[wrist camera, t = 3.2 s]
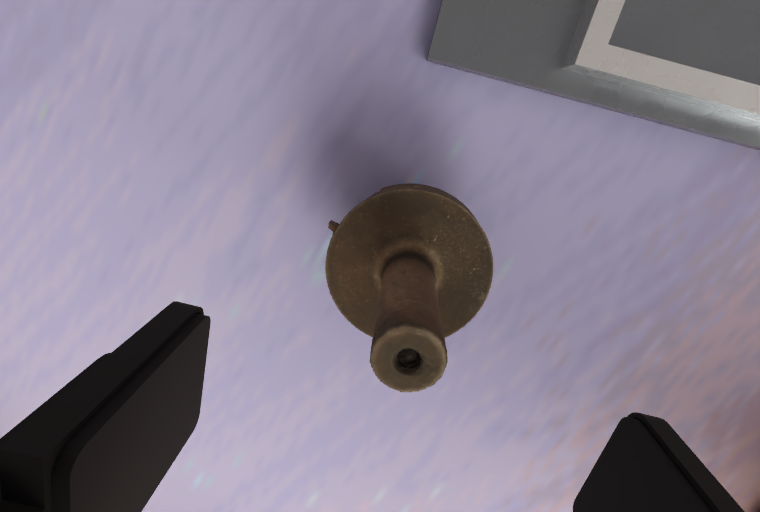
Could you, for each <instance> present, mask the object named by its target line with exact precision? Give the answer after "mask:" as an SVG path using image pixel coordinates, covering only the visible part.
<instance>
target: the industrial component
mask: <svg viewBox="0 0 760 512" xmlns="http://www.w3.org/2000/svg"><path fill="white" fill-rule="evenodd" d="M328 228H329V229H330V230H332V231H333V236H332V238H331V240H330V244H329V247H328V251H327V257H326V278H327V283H328V287H329V290H330V294H331V296H332V298H333V300H334V302H335V304H336V306H337V307H338V309H339V310H340V311H341V313H342V314H343V315H344V316H345V318H347V320H348V321H349V322H351V323H352V324H353V325H354V326H355V327H356V328H358V329H359V330H360V331H362V332H364V333H365V334H367V335H369V336H371V337H373V340H372V346H371V355H370V363H371V367H372V368H373V371H374V373H375V375H376V376H377V378H378V379H379V380H380V381H381V382H383V383H384V384H385V385H387V386H388V387H390V388H393V389H395V390H398V391H400V392H412V391H420V390H423V389H426V388H427V387H430V386H432V385H434V384H435V383H436V381H438V380H439V379H440V378H441V377H442V374H443V372H444V370H445V367H446V365H447V349H446V345H445V339H444V338H445V337H447V336H450V335H451V334H453V333H455V332H456V331H458V330H460V329H461V328H462V327H464V326H465V325H466V324H467V323H468V322H470V320H471V319H472V318H473V317H474V316H475V315H476V314H477V312H478V311H479V310H480V308H481V307H482V305H483V303H484V301H485V300H486V298H487V295H488V293H489V289H490V286H491V282H492V276H493V258H492V252H491V248H490V245H489V242H488V239H487V237H486V235H485V233H484V231H483V229H482V228H481V226H480V225H479V223H478V221H477V220H476V218H475V217H474V215H473V214H472V213H471V212H470V210H469V209H468V208H467V207H466V206H465V205H464V204H463V203H461V202H460V201H459V200H458V199H456V198H455V197H453V196H452V195H450V194H448V193H446V192H444V191H442V190H440V189H437V188H434V187H431V186H427V185H421V184H398V185H392V186H388V187H384V188H382V189H381V190H380V191H379V192H377V193H375V194H374V195H372V196H371V197H369V198H367V199H366V200H364V201H363V202H361V203H360V204H359V205H357V206H356V207H355V208H353V209H352V210H351V211H350V212H349V213H348V214H347V215H346V216H345V217H344V219H343V220H342V221H341V223H340V224H338V223H335V222H334V221H332V220H331V221H330V222H329V226H328Z"/></svg>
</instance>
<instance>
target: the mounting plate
mask: <svg viewBox="0 0 760 512" xmlns="http://www.w3.org/2000/svg"><path fill="white" fill-rule="evenodd" d="M427 61H430V62H433V63H437V64H441V65H445V66H448V67H452V68H456V69H460V70H463V71H467V72H471V73H474V74H478V75H482V76H486V77H489V78H493V79H497V80H500V81H504V82H508V83H512V84H515V85H519V86H523V87H526V88H530V89H534V90H538V91H541V92H545V93H549V94H553V95H556V96H560V97H564V98H567V99H571V100H575V101H579V102H582V103H586V104H590V105H593V106H597V107H601V108H605V109H608V110H612V111H616V112H620V113H623V114H627V115H631V116H634V117H638V118H642V119H646V120H649V121H653V122H657V123H660V124H664V125H668V126H672V127H675V128H679V129H683V130H686V131H690V132H694V133H698V134H701V135H705V136H709V137H713V138H716V139H720V140H724V141H727V142H731V143H735V144H739V145H742V146H746V147H750V148H753V149H757V150H760V0H442V4H441V8H440V12H439V16H438V19H437V23H436V27H435V31H434V35H433V38H432V42H431V46H430V50H429V54H428V58H427Z"/></svg>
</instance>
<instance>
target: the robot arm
mask: <svg viewBox="0 0 760 512" xmlns="http://www.w3.org/2000/svg"><path fill="white" fill-rule="evenodd" d="M209 330H210V317H209V316H205V315H204V312H203V309H202V308H201V307H197V306H193V305H189V304H185V303H181V302H172V303H171V304H170V305H168V306H167V307H166V308H165V309H164V310H162V311H161V312H160V313H159V314H158V315H156V316H155V317H154V318H153V319H152V320H150V321H149V322H148V323H147V324H146V325H144V326H143V327H142V328H141V329H140V330H138V331H137V332H136V333H135V334H134V335H132V336H131V337H130V338H129V339H128V340H126V341H125V342H124V343H123V344H122V345H120V346H119V347H118V348H117V349H116V350H114V351H113V352H112V353H108V354H105V355H103V356H102V357H100V358H98V359H97V360H96V361H95V362H94V363H92V364H91V365H90V366H89V367H87V368H86V369H85V370H84V371H83V372H81V373H80V374H79V375H78V376H76V377H75V378H74V379H73V380H72V381H70V382H69V383H68V384H67V385H65V386H64V387H63V388H62V389H61V390H59V391H58V392H57V393H56V394H54V395H53V396H52V397H51V398H50V399H48V400H47V401H46V402H45V403H43V404H42V405H41V406H40V407H39V408H37V409H36V410H35V411H34V412H32V413H31V414H30V415H29V416H28V417H26V418H25V419H24V420H23V421H21V422H20V423H19V424H18V425H17V426H15V427H14V428H13V429H12V430H10V431H9V432H8V433H7V434H6V435H4V436H3V437H2V438H1V439H0V512H141V511H142V510H143V508H144V507H145V505H146V504H147V502H148V500H149V499H150V497H151V496H152V494H153V493H154V491H155V490H156V488H157V487H158V485H159V483H160V482H161V480H162V479H163V477H164V476H165V474H166V473H167V471H168V470H169V468H170V466H171V465H172V463H173V462H174V460H175V459H176V457H177V456H178V454H179V453H180V451H181V449H182V448H183V446H184V445H185V443H186V442H187V440H188V439H189V437H190V435H191V434H192V432H193V431H194V429H195V427H196V424H197V422H198V418H199V414H200V406H201V398H202V389H203V381H204V372H205V364H206V355H207V347H208V338H209ZM573 512H744V511H743V509H742V508H741V507H740V506H739V505H738V504H737V502H736V501H735V500H734V499H733V498H732V497H731V496H730V494H729V493H728V492H727V491H726V490H725V489H724V487H723V486H722V485H721V484H720V483H719V482H718V481H717V479H716V478H715V477H714V476H713V475H712V474H711V472H710V471H709V470H708V469H707V468H706V467H705V466H704V464H703V463H702V462H701V461H700V460H699V459H698V457H697V456H696V455H695V454H694V453H693V452H692V450H691V449H690V448H689V447H688V446H687V445H686V444H685V442H684V441H683V440H682V439H681V438H680V437H679V435H678V434H677V433H676V432H675V431H674V430H673V429H672V427H671V426H670V425H669V424H668V423H667V422H666V421H665V420H663V419H661V418H658V417H653V416H649V415H645V414H641V413H631V414H630V415H628V417H624V418H622V419H621V421H620V422H619V424H618V425H617V427H616V429H615V431H614V432H613V434H612V436H611V438H610V439H609V441H608V443H607V445H606V446H605V448H604V450H603V452H602V453H601V455H600V457H599V459H598V460H597V462H596V464H595V466H594V467H593V469H592V471H591V473H590V474H589V476H588V478H587V479H586V481H585V483H584V485H583V486H582V488H581V490H580V492H579V493H578V495H577V497H576V499H575V501H574V504H573Z"/></svg>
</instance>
